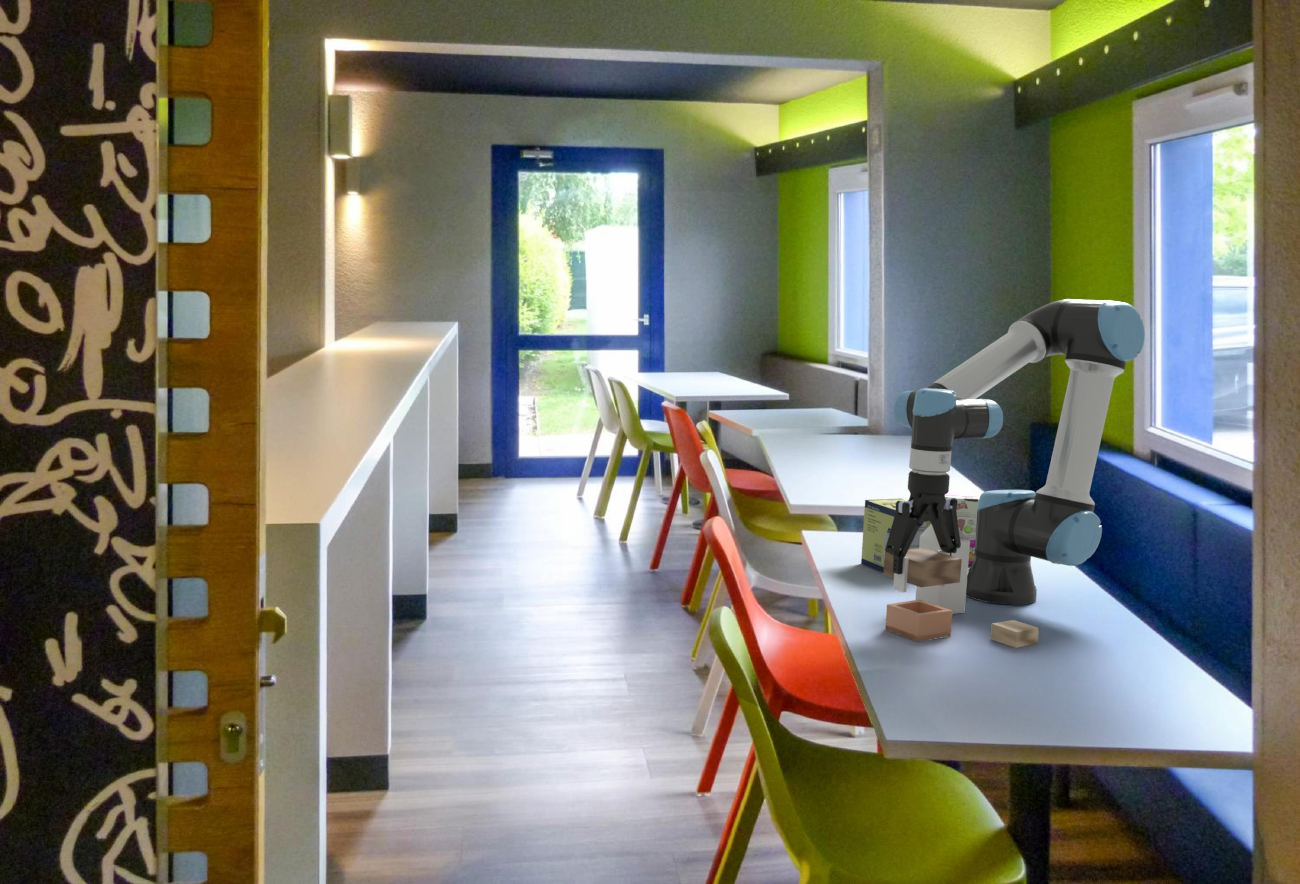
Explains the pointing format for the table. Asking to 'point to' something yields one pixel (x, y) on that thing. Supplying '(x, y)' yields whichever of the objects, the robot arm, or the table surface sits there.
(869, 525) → the protein box
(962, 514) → the candy bar box
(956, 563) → the brown box
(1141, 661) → the table surface
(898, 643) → the table surface
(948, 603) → the milk carton
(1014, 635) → the stand
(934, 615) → the open square box
